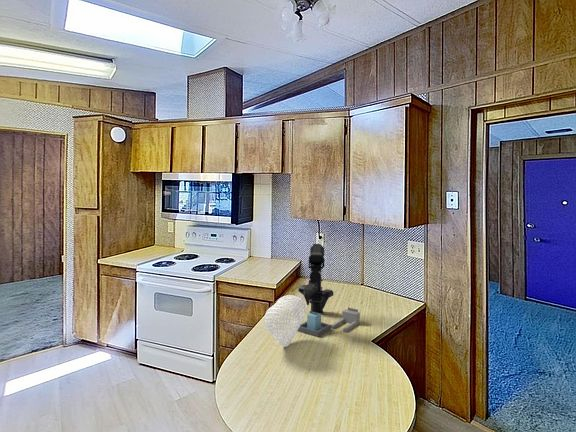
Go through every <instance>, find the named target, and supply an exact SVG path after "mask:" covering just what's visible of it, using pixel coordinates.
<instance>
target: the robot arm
mask: <svg viewBox="0 0 576 432" xmlns="http://www.w3.org/2000/svg"><path fill="white" fill-rule="evenodd" d="M324 257H325V247H324V246H322V244H321V243H313V244H312V246H311V247H310V249H309V256H308V266H307V268H308V269H310V274H309V279H308V284H302V285H300V286H299V287H298V289H297V290H298V292H299V293H300V294H301V295H302V296H303V297H304V300H305V304H306V306H309V305H310V311H309V314H310V313H311V312H316V313H320V314H321V315H322V314H323V313H324V308H325V306H326V304H327V302H328V300H329V299H330V298H332V297H333V296H334V291H333V289H328V288H326V289H324V290H323V286H322V282H323V279H322V270H324V267H325V260H326V259H325V258H324Z"/></svg>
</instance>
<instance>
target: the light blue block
mask: <svg viewBox="0 0 576 432" xmlns="http://www.w3.org/2000/svg"><path fill="white" fill-rule="evenodd" d="M306 318H307V320H306V321H307V328H308V329H312V330H315V331H318V330H320V329H321V322H322V313H321V314H320V313H316V312H311V313H310V312H309V313H308V314H307V317H306Z"/></svg>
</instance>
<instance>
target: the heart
mask: <svg viewBox="0 0 576 432" xmlns="http://www.w3.org/2000/svg"><path fill="white" fill-rule="evenodd" d="M306 310H307V309H306V303H305V302H304V301H303V300H302V299H301V298H300V297H298V296H297V295H294V294H293V295H292V294H287V295H284V296H281V297H280V298H278V299H277V301H276V302H275V304H273V305H271V306H270V307H269V308H268V309H267V310H266V312H265V313H264V323H265V327H266V328H267V331H268V332H269V333H270V334H271V335H272V336H273V337H274V338H275V340H276V341H277V342H278V343H279V344H280V345H281V346H282V347H284V348H285V347H288V346H290V344H291V343H292V341H293V339H294V337H295V336H296V334H297V333H298V329H299V327H300V325H301V324H302V323H303V321H304V319H305V317H306Z"/></svg>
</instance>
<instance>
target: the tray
mask: <svg viewBox="0 0 576 432" xmlns="http://www.w3.org/2000/svg"><path fill="white" fill-rule="evenodd" d="M331 330H332V328H331V324H330V323H327V322H326V323H325V322H322V321H321V329H320V330H318V331H315V330H312V329H308V328H307V320H306V321H304V322H302V323H301V325H300V327H299V329H298V331H297V333H298V332H299V333H302V334H305V335H309V336H313V337H314V338H315V337H316V338H319V337H321V336H323V335H325V334H326V333H327V332H329V331H331Z"/></svg>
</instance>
